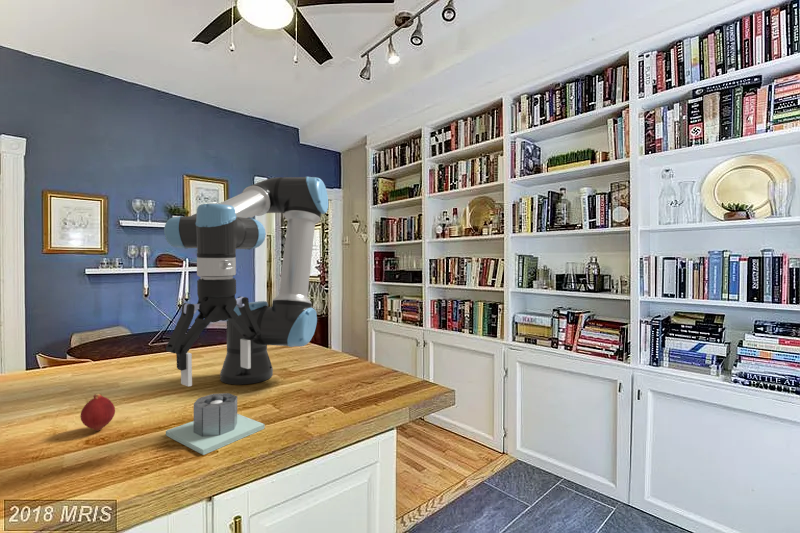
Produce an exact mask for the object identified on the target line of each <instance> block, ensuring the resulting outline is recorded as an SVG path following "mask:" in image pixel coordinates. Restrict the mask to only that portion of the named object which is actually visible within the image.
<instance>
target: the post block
mask: <svg viewBox="0 0 800 533" xmlns="http://www.w3.org/2000/svg"><path fill="white" fill-rule="evenodd" d="M222 402H223V401H222V400H215V401H212V402H210V404H219V403H222ZM265 425H266V424H265V423H262V422H260V421H257V420H255V419H253V418H249V417H247V416H244V415H242V414H240V413H237V425H236V427H235V429H234V430H232V431H230V432H227V433H225V434H222V435H219V436H206V437H203V436H200V435H198V434H196V433H194V420H193V421H190V422H186V423H183V424H182V425H179V426H175V427H172V428H169V429H166V430H165V436H166V437H169V438H170V439H171V440H174V441H175V442H178V443H180V444H181V445H184V446H185V447H187V448H189V449H191V450H193V451H195V452H196V453H199V454H200V455H203V456H206V455H207V454H209V453H211V452H214V451H216V450H219V449H220V448H223V447H225V446H228V445H230V444H232V443H235V442H236V441H239V440H242V439H244V438H246V437H248V436H250V435H253V434H255V433H258V432H260V431H262V430H264V429H265Z"/></svg>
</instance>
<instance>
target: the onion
mask: <svg viewBox="0 0 800 533" xmlns="http://www.w3.org/2000/svg"><path fill="white" fill-rule="evenodd" d="M115 413H116V408H115V405H114V403H113V402H112V401H111V400H110V399H109V398H108V397H105V396H102V394H100V393H96V394H94V395H93V398H92V399H90V400H89V401H88V402H86V403H85V405H84V406H83V408H82V410H81V412H80V416H79V418H80V420H81V422H82V424H83V425H84V426H86V427H87V428H89V429H92V430H94V431H95V432H98V431H99V432H100V431H101V430H102V429H103V428H105V427H106V426H107V425H109V424H110V422H111V421H112V420H113V419H114V416H115Z"/></svg>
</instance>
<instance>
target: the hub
mask: <svg viewBox="0 0 800 533" xmlns="http://www.w3.org/2000/svg"><path fill="white" fill-rule="evenodd" d="M215 400H222V401H223V402H222V403H219V404H210V402H212V401H215ZM237 414H238V395H235V394H232V393H229V392H225V393H223V392H222V393H211V394H207V395H205V396H202V397H198V398H197V399H196V400H195V402H194V403H193V421H194V433H196V434H198V435H200V436H203V437H206V436H219V435H222V434H225V433H227V432H230V431H232V430H234V429H235V427H236V425H237Z"/></svg>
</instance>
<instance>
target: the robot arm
mask: <svg viewBox="0 0 800 533" xmlns="http://www.w3.org/2000/svg"><path fill="white" fill-rule="evenodd" d="M328 210H329V196H328V190H327V187H326V184H325V183H324V181H323V180H322V179H321V178H319V177H315V176H312V177H311V176H300V177H299V176H297V177H295V176H294V177H293V176H290V177H284V176H283V177H281V176H279V177H278V176H277V177H271V178H267V179H265V180H264V179H263V180H262V181H258V182H256V183H254V184H251V185H249V186H247V187H245V188H244V189H243V190H242V192H241V193H239V194H236V195H235V196H233V197H231V198H229V199H226V200H224V201H221V202H220V203H219V202H218V203H202V204H199V205H198V206H197V207H196V213H194V214H191V215H188V216H185V215H184V216H182V215H180V216H174V217H170V218H169V219H168V220H167V221H166V223H165V225H164V228H163V229H164V230H163V233H164V237H165V240H166V242H167V243H168V244H169V245H170V246H171V247H173V248H182V249H185V250H186V249H196V250H197V254H196V276H197V277H200V278H198V279H197V280H196V284H197V285H196V288H197V289H196V292H197V297H198V301H197V302H196V303H189V302H183V303H182V306H181V314H180V316H179V318H178V320H177V323H176V325H175V327H174V330H173V332H172V334H171V335H170V338H169V340H168V342H167V344H166V347H165V351H166V352H168V353H171V354H175V355H176V369H177V370H178V371H180V384H181V385H183V386H186V387H192V386H193V372H192V371H193V367H192V366H193V364H192V363H193V362H192V361H193V359H192V358H193V357H192V355H193V354H192V353H191V352H189V350H190V349H191V348H192V346H193V345H194V344H195V342H196V341H197V340H198V338H199V336H201V334H202V333H203V331H204V330H205V328H206V327H208V326H209V325H210V323H217V322H220V321H222V322H223V321H226V356H225V359H224V361H223V364H222V367H221V370H220V373H219V376H220V378H219V380H220V382H222V383H225V384H228V385H251V384H257V383H261V382H264V381H266V380H269V379H271V378H272V377H273V374H274V373H273V372H274V369H273V365H272V362H271V359H270V356H269V352H268V346H280V347H289V348H293V347H304V346H307V345H308V344H309V343H310V342H311V340H312V338H313V336H314V335H315V332H316V328H317V323H318V317H317V315H318V314H317V311H316V309H315V308H313V307H312V305H313V304H312V303H313V302H312V301H311V300H310V299H309V296H308V293H309V286H310V285H309V284H310V275H311V267H312V266H311V265H312V255H313V248H314V239H315V238H314V237H315V229H316V224H318V223H319V222H320V221H321V216H322V215H324V214H326V213H327V212H328ZM275 213H276V214H283V217H284V218H285V220H286V221H287V223H286V224H287V225H286V232H285V239H284V240H285V242H284V250H283V258H282V266H281V273H280V274H281V275H280V283H279V290H278V295H276V297H275V298H273V299H272V305H271V306H269V303H268V302H267V301H265V300H261V301H249V297H246V296H238V297H237V298H236V294H237V279H236V278H235V276H236V275H237V262H236V261H237V260H236V259H237V257H236V253H237V251H236V250H252V249H253V250H254V249H256V248H259V247H260V246H262V245H263V243H264V242H265V238H266V235H267V234H266V229H265V227H264V224H263V223H262V222H261V221H259V220H258V219H255V218H254V217H257V216H258V217H261V216H264V215H266V214H275ZM197 312H198V315H197V316H196V318H194V315H196V314H197ZM193 318H194V322H193V324H192V325H191V323H192V321H193ZM190 326H191V327H190Z"/></svg>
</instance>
